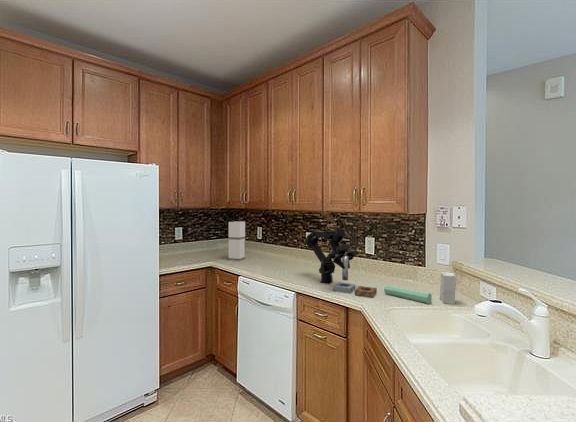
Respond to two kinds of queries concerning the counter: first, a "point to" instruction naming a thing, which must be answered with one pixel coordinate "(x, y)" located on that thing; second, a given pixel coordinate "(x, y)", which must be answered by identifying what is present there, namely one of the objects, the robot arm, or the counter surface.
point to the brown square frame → (365, 291)
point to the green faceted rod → (408, 294)
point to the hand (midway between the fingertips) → (346, 268)
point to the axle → (345, 270)
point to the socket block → (344, 287)
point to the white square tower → (236, 241)
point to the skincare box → (447, 287)
